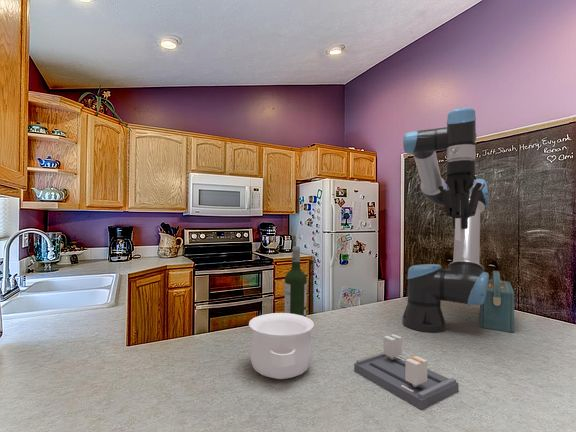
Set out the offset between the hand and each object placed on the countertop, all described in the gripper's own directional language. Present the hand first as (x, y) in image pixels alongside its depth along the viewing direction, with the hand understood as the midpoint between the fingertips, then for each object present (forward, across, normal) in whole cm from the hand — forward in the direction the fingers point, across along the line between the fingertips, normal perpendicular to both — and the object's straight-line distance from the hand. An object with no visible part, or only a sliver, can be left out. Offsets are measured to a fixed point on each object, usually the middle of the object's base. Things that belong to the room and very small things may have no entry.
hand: (460, 240), depth 95 cm
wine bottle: (+35, -43, -30) cm, 63 cm away
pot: (+35, -20, -50) cm, 64 cm away
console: (+34, +1, -27) cm, 44 cm away
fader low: (+32, +7, -30) cm, 45 cm away
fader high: (+32, -5, -23) cm, 40 cm away
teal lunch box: (+35, -10, +45) cm, 58 cm away
